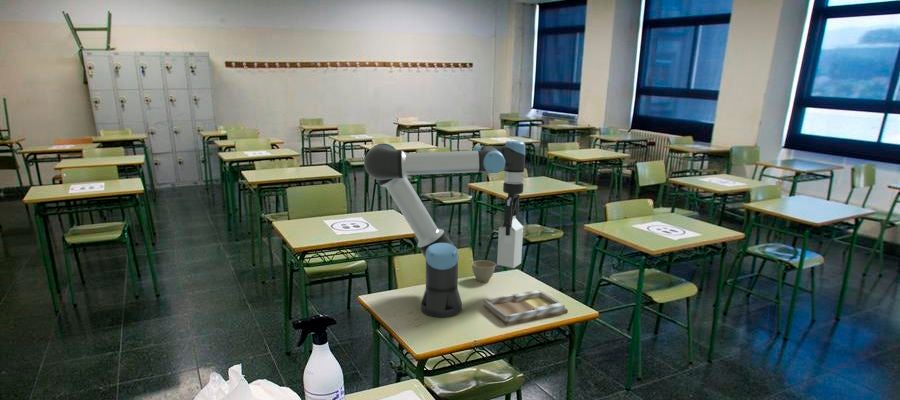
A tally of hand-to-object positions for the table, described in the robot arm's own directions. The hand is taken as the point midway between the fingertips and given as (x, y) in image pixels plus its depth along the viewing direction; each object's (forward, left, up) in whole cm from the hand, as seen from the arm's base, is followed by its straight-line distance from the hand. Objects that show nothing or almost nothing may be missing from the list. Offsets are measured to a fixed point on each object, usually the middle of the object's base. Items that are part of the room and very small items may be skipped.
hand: (510, 240), depth 200 cm
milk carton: (0, 0, -10) cm, 10 cm away
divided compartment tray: (+9, -13, -22) cm, 27 cm away
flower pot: (-14, +11, -22) cm, 28 cm away
